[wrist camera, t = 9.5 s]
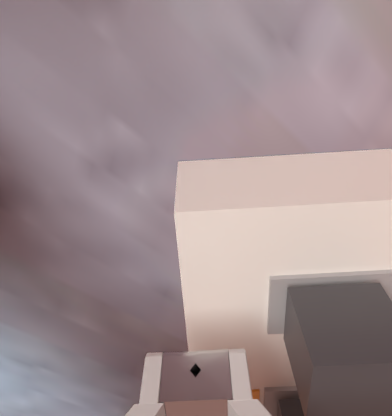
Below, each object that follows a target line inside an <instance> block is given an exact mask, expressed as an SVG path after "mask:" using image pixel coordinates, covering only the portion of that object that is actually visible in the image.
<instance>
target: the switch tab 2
mask: <svg viewBox="0 0 392 416" xmlns="http://www.w3.org/2000/svg"><path fill="white" fill-rule="evenodd" d="M283 339H284V342H285V346H286V350H287V354H288V357H289V361H290V365H291V369H292V372H293V376H294V380H295V383H296V387H297V391H298V395H299V398H300V402H301V406H302V410H303V413H304V416H392V301H391V299H390V298H389V296H388V295H387V293H386V291H385V290H384V288H383V287H382V285H381V284H380V283H363V284H344V285H326V286H307V287H288V288H287V300H286V312H285V325H284V337H283Z"/></svg>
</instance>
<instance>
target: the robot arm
mask: <svg viewBox="0 0 392 416" xmlns="http://www.w3.org/2000/svg"><path fill="white" fill-rule="evenodd" d="M125 416H272V415H271V414H270V413H269V412H268V410H267V409H266V408H265V407H264V406H263V404H262V403H261V402H260V401H259V400H258V399H253V396H252V390H251V383H250V376H249V369H248V363H247V356H246V351H245V349H220V350H203V351H196V352H155V353H147V354H146V357H145V362H144V370H143V377H142V384H141V392H140V399H139V404H134V405H133V406H132V407H131V408H130V410H129V411H128V412H127V414H126V415H125Z"/></svg>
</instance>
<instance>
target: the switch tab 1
mask: <svg viewBox="0 0 392 416" xmlns="http://www.w3.org/2000/svg"><path fill="white" fill-rule="evenodd" d="M277 416H304V413H303V410H302V406H301V402H300V399H281V400H278V412H277Z"/></svg>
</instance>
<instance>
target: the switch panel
mask: <svg viewBox="0 0 392 416" xmlns="http://www.w3.org/2000/svg"><path fill="white" fill-rule="evenodd" d="M174 217H175V227H176V236H177V246H178V255H179V265H180V275H181V284H182V294H183V304H184V313H185V323H186V332H187V342H188V352H196V351H203V350H220V349H245V351H246V356H247V363H248V369H249V376H250V383H251V390H252V396H253V399H258V400H259V401H260V402H261V403H262V404H263V406H264V407H265V408H266V409H267V410H268V412H269V413H270V414H271V415H272V416H277V412H278V400H281V399H300V398H299V395H298V391H297V387H296V383H295V380H294V376H293V372H292V369H291V365H290V361H289V357H288V354H287V350H286V346H285V342H284V339H283V337H284V325H285V312H286V300H287V288H288V287H307V286H326V285H344V284H363V283H380V284H381V285H382V287H383V288H384V290H385V291H386V293H387V295H388V296H389V298H390V299H391V301H392V149H378V150H361V151H345V152H328V153H311V154H295V155H278V156H262V157H245V158H229V159H212V160H196V161H179V162H178V169H177V181H176V194H175V207H174Z"/></svg>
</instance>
